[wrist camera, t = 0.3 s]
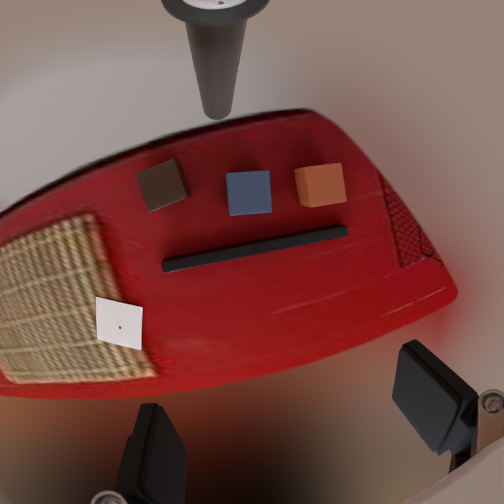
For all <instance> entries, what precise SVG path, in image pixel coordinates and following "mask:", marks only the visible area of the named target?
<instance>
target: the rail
mask: <svg viewBox="0 0 504 504" xmlns="http://www.w3.org/2000/svg"><path fill="white" fill-rule="evenodd" d="M344 236H348V233H347V226H346V225H343V224H337V225H332V226H326V227H321V228H316V229H311V230H305V231H300V232H295V233H290V234H285V235H280V236H275V237H270V238H265V239H260V240H254V241H249V242H244V243H239V244H235V245H230V246H225V247H220V248H215V249H210V250H205V251H200V252H195V253H190V254H186V255H181V256H176V257H171V258H166V259H163V261H162V262H161V265H162V269H163V273H167V272H172V271H177V270H182V269H187V268H192V267H197V266H202V265H207V264H212V263H217V262H222V261H227V260H232V259H237V258H241V257H246V256H251V255H256V254H261V253H266V252H271V251H276V250H281V249H286V248H291V247H296V246H300V245H305V244H310V243H315V242H320V241H325V240H330V239H334V238H339V237H344Z"/></svg>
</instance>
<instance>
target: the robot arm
mask: <svg viewBox="0 0 504 504" xmlns="http://www.w3.org/2000/svg"><path fill="white" fill-rule="evenodd" d="M183 1H184V2H185V3H187V4H188V5H191V6H193V7H197V8H201V9H224V8H229V7H233V6H236V5H239V4H241V3H243V2H245V1H246V0H183ZM392 398H393V401H394V402H395V403H396V405H397V406H398V407H399V409H400V410H401V411H402V413H403V414H404V415H405V417H406V418H407V419H408V421H409V422H410V423H411V424H412V426H413V427H414V428H415V430H416V431H417V432H418V434H419V435H420V436H421V438H422V439H423V440H424V442H425V443H426V444H427V446H428V447H429V448H430V450H431V451H432V452H436V453H437V454H438V455H441V454H442V453H443V452H445V451H447V450H448V449H449V450H450V451H451V453H452V456H451V462H450V468H449V473H448V475H446V476H445V477H443V478H442V479H440V480H439V481H437V482H436V483H434V484H432V485H431V486H429V487H427V488H426V489H424V490H422V491H420V492H419V493H417V494H415V495H413V496H411V497H410V498H408V499H406V500H404V501H402V502H400V503H398V504H504V393H503V392H502V391H499V390H495V389H491V390H487V391H485V392H483V393H482V394H481V395H480V397H479V396H478V395H477V392H476V391H475V390H474V389H473V388H471V387H470V386H469V385H468V384H467V383H466V382H465V381H464V380H463V379H461V378H460V377H459V376H458V375H457V374H456V373H455V372H453V371H452V370H451V369H450V368H449V367H448V366H447V365H446V364H444V363H443V362H442V361H441V360H440V359H439V358H438V357H436V356H435V355H434V354H433V353H432V352H431V351H429V350H428V349H427V348H426V347H425V346H424V345H422V344H421V343H420V342H419V341H418V340H415V339H414V340H412V341H410V342H408V343H405V344H403V345H402V348H401V349H400V351H399V356H398V363H397V370H396V376H395V382H394V387H393V393H392ZM186 457H187V450H186V446H185V444H184V443H183V441H182V439H181V438H180V436H179V435H178V433H177V431H176V429H175V428H174V426H173V424H172V423H171V421H170V419H169V417H168V415H167V414H166V412H165V410H164V408H163V407H162V406H159V405H158V404H157V403H145V404H141V406H140V409H139V413H138V416H137V420H136V423H135V427H134V430H133V435H130V436H129V437H128V439H127V442H126V446H125V450H124V454H123V457H122V461H121V465H120V469H119V473H118V477H117V481H116V485H115V490H114V491H103V492H100V493H98V494H97V495H95V496H94V498H93V499H92V501H91V504H184V496H185V474H186Z"/></svg>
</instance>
